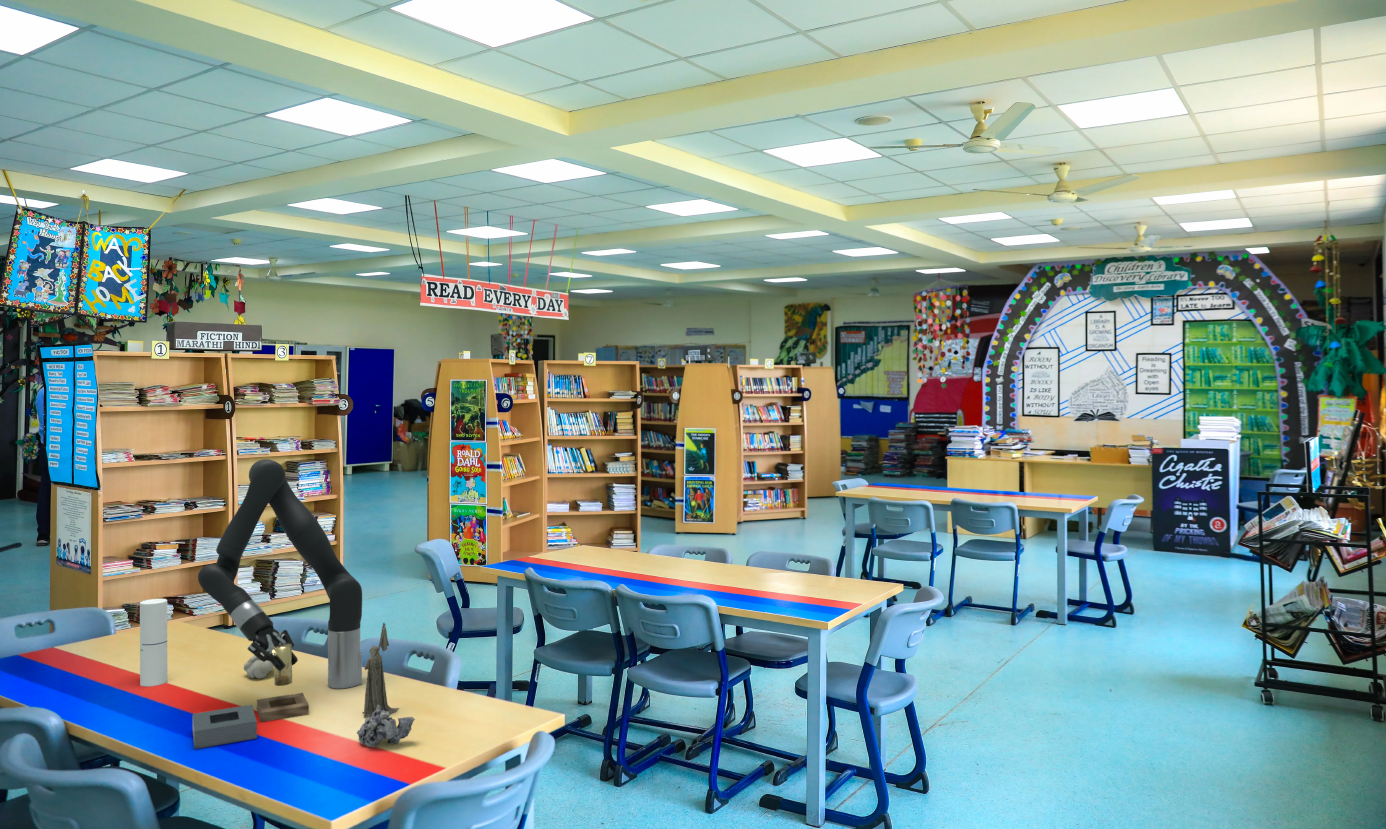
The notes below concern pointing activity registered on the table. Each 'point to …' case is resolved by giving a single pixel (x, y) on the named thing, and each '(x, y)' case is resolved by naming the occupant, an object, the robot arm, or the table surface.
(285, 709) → the walnut stand
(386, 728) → the mineral specimen
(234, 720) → the charcoal block
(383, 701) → the wizard figurine
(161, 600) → the cylindrical container
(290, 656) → the brass peg
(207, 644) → the table surface
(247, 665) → the fossil replica
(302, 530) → the robot arm
